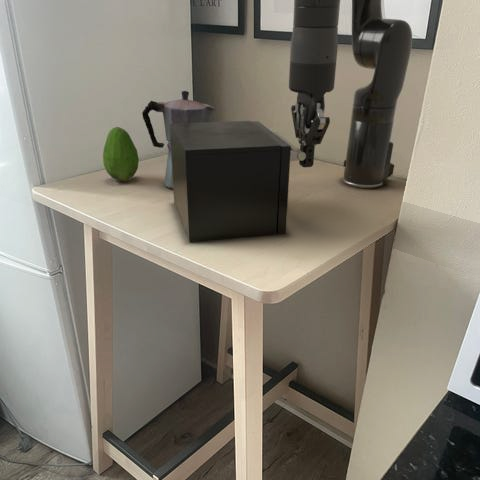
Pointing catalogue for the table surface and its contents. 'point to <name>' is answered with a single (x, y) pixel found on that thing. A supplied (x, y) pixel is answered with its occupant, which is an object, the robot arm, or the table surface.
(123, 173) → the avocado
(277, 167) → the oven
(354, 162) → the robot arm
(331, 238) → the table surface
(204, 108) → the moka pot
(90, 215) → the table surface
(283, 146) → the oven door
